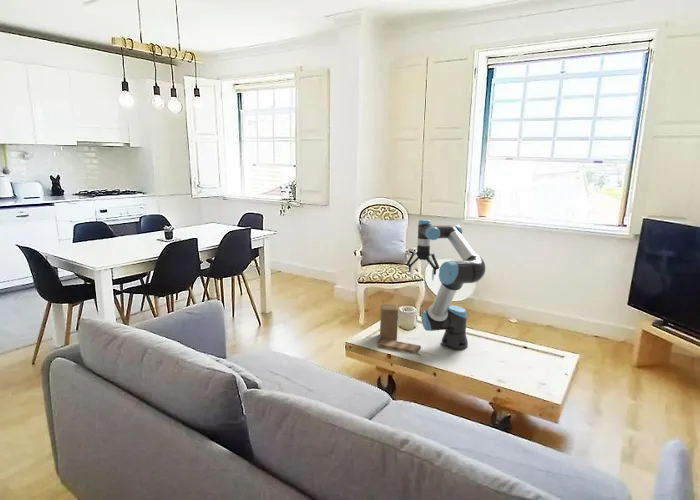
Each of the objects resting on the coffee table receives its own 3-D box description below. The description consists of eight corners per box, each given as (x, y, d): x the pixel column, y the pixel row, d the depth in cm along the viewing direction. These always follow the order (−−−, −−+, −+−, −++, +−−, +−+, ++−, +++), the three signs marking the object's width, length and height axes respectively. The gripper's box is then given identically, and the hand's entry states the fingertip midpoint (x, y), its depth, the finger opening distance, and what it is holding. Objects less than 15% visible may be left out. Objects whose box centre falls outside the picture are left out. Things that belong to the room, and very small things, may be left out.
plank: (420, 348, 256) (420, 344, 255) (417, 354, 249) (417, 349, 248) (381, 341, 265) (381, 336, 264) (376, 346, 258) (377, 342, 257)
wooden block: (396, 341, 266) (398, 310, 261) (380, 340, 266) (381, 309, 261) (396, 334, 275) (397, 304, 271) (380, 333, 276) (380, 303, 271)
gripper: (445, 245, 268) (443, 279, 273) (405, 241, 277) (404, 274, 282) (443, 248, 261) (441, 282, 266) (402, 244, 270) (400, 277, 275)
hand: (421, 278), depth 274 cm, fingers open, 13 cm apart
